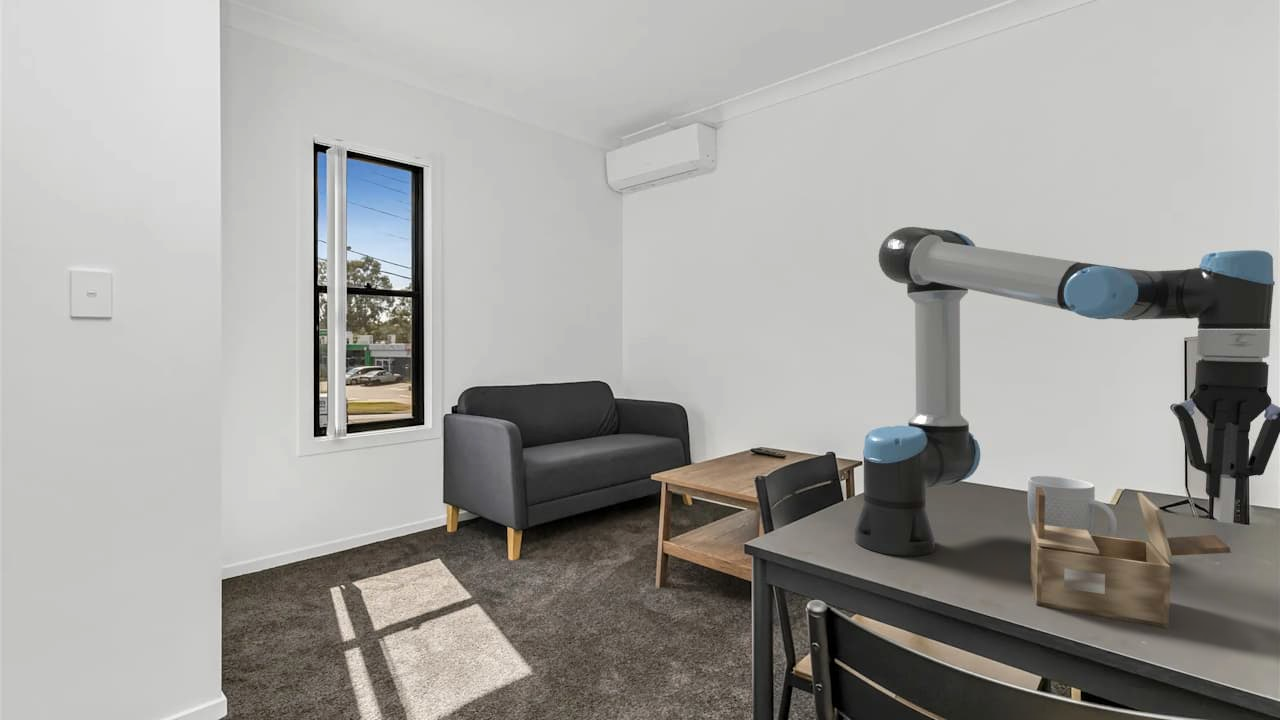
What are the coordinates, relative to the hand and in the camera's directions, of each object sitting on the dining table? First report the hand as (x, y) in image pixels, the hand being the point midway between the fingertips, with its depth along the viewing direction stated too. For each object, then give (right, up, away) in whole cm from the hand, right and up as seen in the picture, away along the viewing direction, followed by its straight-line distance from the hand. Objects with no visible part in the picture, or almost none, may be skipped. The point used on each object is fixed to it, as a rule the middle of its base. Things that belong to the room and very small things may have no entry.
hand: (1223, 519), depth 89 cm
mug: (-1, -14, +32) cm, 35 cm away
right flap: (-7, -2, +4) cm, 8 cm away
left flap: (-17, -6, +9) cm, 20 cm away
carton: (-13, -15, +8) cm, 21 cm away
